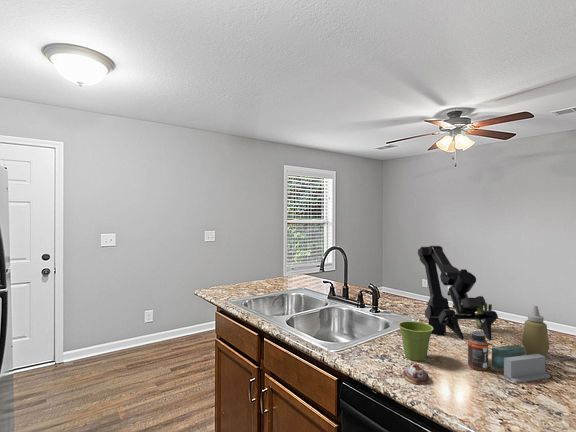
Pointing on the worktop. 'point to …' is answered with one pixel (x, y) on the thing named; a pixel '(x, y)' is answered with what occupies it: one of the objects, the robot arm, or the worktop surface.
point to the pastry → (416, 374)
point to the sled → (503, 355)
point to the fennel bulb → (481, 312)
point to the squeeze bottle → (535, 334)
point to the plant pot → (415, 339)
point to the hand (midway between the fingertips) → (476, 339)
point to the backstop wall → (525, 368)
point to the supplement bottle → (478, 351)
